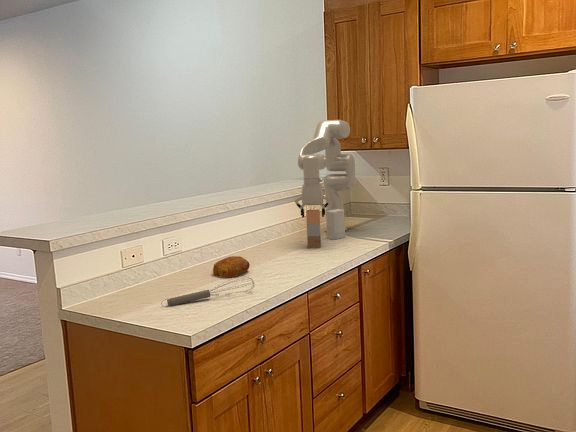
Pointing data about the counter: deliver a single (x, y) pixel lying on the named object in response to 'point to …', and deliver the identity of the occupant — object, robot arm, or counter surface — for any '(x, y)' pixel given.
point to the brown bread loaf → (231, 267)
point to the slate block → (313, 229)
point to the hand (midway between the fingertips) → (313, 216)
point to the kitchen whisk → (199, 295)
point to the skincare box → (335, 224)
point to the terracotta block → (313, 216)
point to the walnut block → (314, 241)
